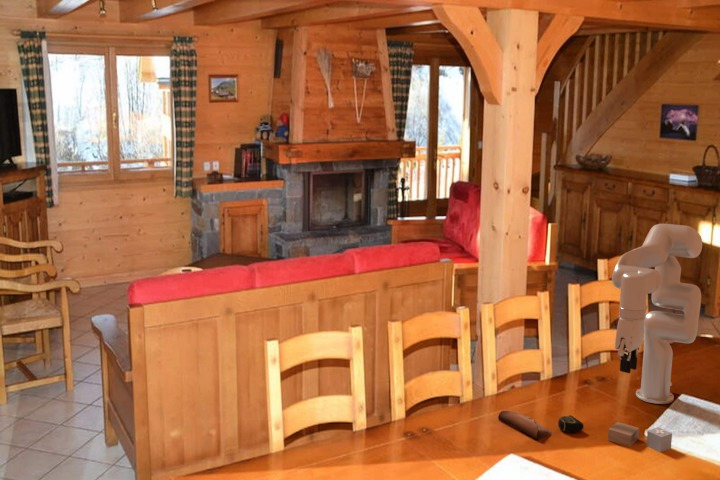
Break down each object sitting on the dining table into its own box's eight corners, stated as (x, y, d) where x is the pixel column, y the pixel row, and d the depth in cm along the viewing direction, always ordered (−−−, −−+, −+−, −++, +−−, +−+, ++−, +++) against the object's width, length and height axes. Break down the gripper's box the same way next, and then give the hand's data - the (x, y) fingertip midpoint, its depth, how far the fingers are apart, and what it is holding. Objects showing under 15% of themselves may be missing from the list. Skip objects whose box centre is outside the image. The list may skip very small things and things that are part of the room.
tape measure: (584, 433, 242) (584, 422, 241) (565, 436, 240) (566, 425, 239) (572, 424, 249) (572, 413, 248) (553, 427, 247) (554, 416, 246)
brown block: (616, 433, 242) (617, 421, 241) (638, 439, 238) (639, 428, 237) (607, 441, 237) (608, 429, 236) (629, 447, 232) (630, 435, 232)
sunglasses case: (556, 434, 241) (549, 419, 238) (541, 449, 239) (534, 435, 236) (516, 413, 256) (509, 400, 253) (502, 428, 253) (495, 414, 251)
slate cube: (657, 442, 236) (658, 426, 235) (670, 448, 232) (672, 432, 231) (646, 445, 233) (647, 430, 232) (660, 452, 229) (661, 436, 228)
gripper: (632, 305, 237) (628, 360, 241) (607, 316, 226) (604, 374, 229) (655, 309, 232) (651, 366, 236) (631, 321, 221) (627, 380, 224)
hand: (628, 369), depth 233 cm, fingers open, 3 cm apart
